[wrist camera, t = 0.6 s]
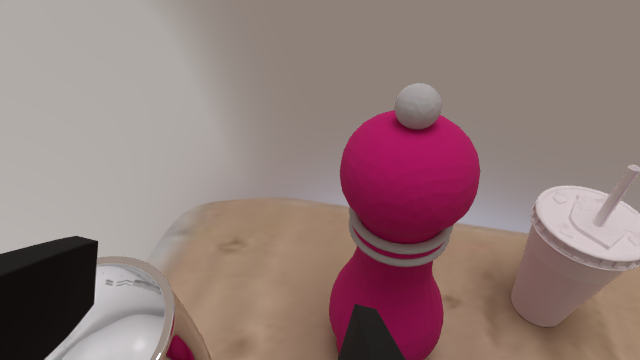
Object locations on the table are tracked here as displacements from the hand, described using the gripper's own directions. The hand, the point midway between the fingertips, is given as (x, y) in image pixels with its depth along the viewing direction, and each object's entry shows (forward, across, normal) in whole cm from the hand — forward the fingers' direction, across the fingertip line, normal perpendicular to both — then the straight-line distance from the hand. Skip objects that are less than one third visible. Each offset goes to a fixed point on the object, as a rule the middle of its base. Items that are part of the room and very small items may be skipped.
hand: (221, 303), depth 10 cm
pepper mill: (+14, -9, +11) cm, 20 cm away
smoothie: (+17, -21, +7) cm, 28 cm away
